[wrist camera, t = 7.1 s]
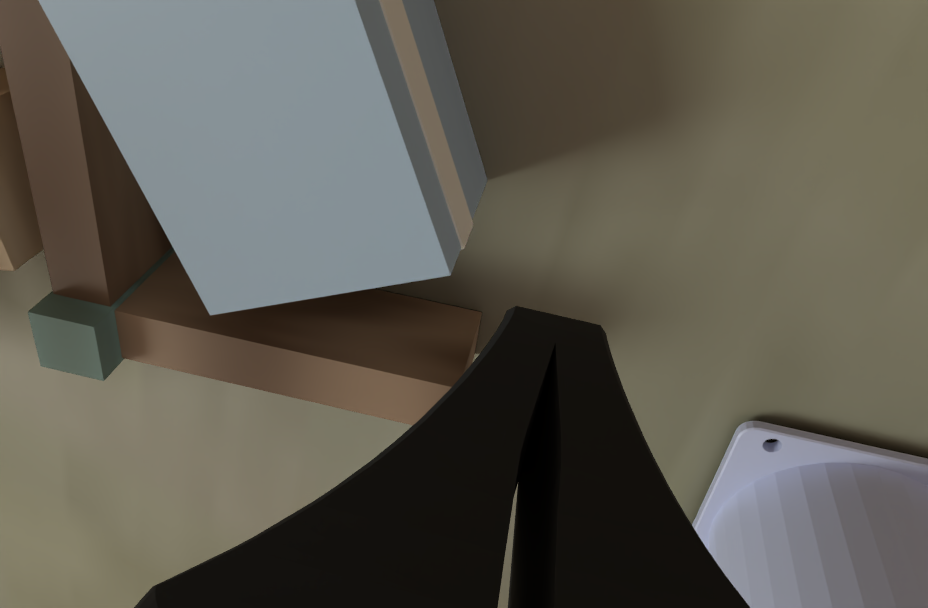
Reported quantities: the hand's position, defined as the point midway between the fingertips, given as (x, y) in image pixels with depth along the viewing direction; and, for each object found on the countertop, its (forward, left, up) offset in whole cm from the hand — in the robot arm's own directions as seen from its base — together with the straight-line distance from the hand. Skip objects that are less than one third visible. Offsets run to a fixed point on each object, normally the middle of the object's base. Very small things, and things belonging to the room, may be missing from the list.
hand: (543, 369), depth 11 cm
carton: (+7, -1, -10) cm, 12 cm away
